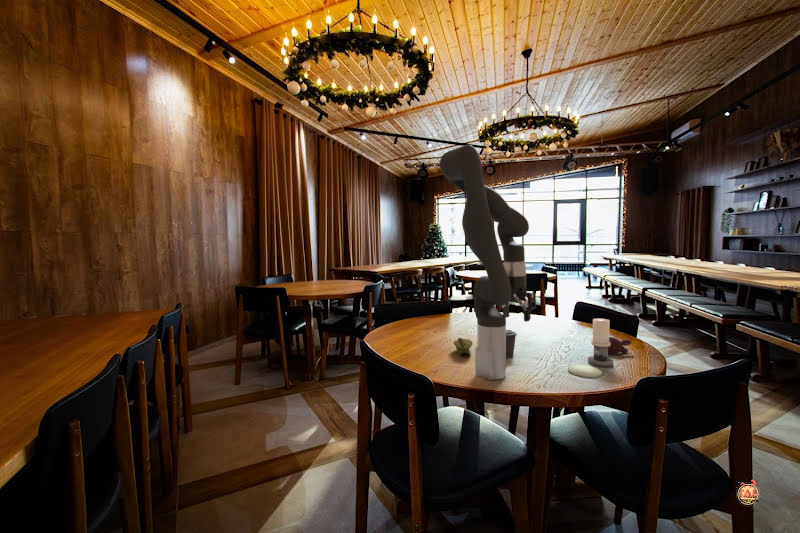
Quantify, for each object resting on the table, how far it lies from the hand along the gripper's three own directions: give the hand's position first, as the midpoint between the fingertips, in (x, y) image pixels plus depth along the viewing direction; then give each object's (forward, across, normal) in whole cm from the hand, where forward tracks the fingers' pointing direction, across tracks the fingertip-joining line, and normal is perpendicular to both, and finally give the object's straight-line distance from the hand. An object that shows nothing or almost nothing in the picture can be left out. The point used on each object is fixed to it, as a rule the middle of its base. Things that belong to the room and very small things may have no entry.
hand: (516, 319), depth 122 cm
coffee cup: (+18, -10, +6) cm, 21 cm away
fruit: (+17, -22, -6) cm, 29 cm away
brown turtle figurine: (+20, +13, +40) cm, 47 cm away
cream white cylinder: (+12, +16, +26) cm, 33 cm away
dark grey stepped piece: (+19, +16, +25) cm, 36 cm away
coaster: (+18, +17, +12) cm, 28 cm away
